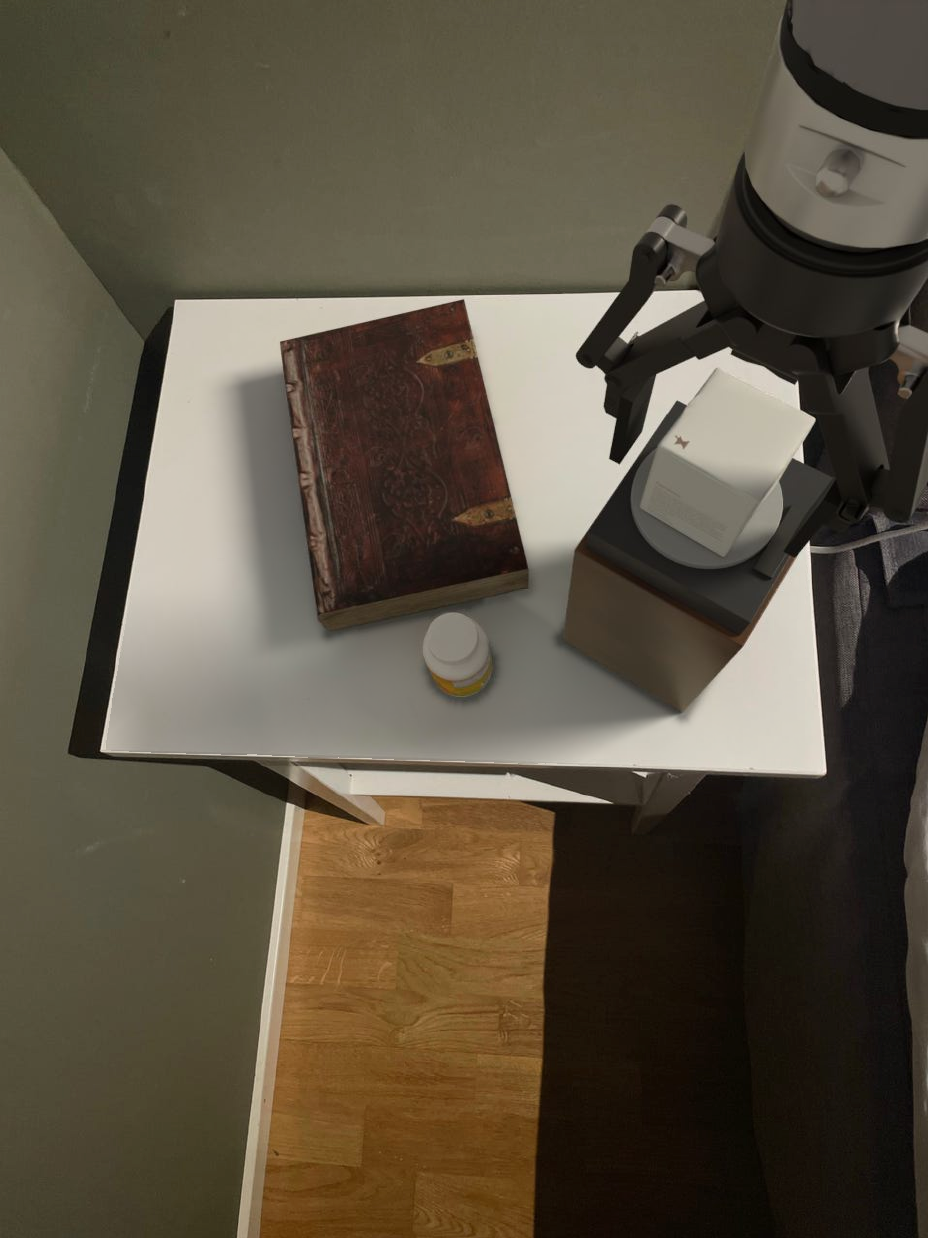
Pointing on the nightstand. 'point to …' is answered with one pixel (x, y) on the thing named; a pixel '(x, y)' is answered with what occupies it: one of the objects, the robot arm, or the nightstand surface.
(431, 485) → the hardback book
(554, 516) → the nightstand surface
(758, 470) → the product box
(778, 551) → the scale
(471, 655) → the supplement bottle
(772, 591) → the riser
